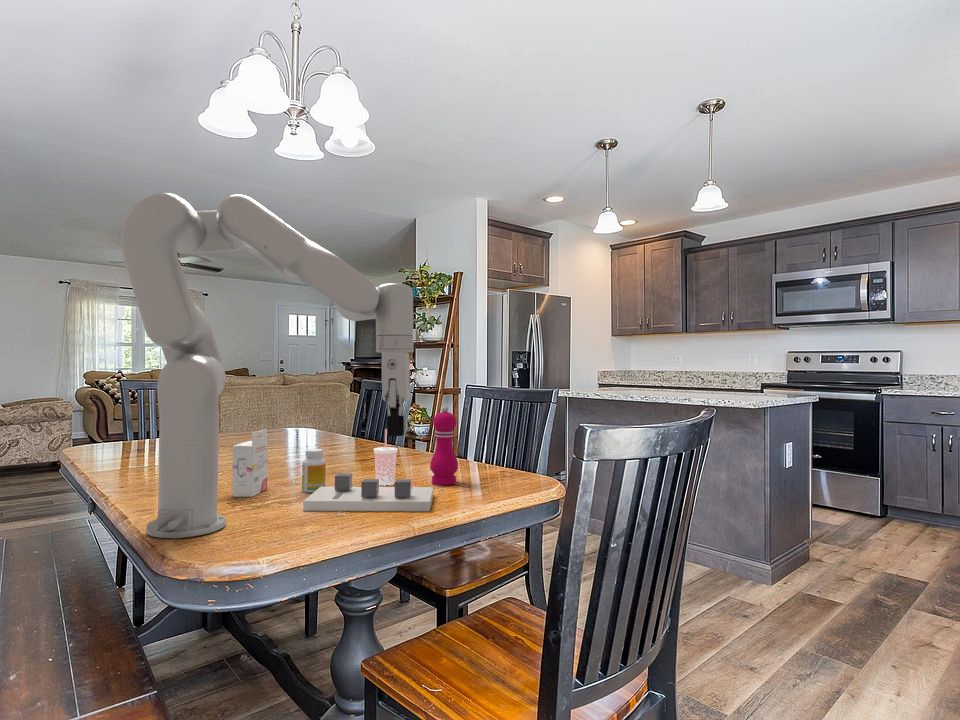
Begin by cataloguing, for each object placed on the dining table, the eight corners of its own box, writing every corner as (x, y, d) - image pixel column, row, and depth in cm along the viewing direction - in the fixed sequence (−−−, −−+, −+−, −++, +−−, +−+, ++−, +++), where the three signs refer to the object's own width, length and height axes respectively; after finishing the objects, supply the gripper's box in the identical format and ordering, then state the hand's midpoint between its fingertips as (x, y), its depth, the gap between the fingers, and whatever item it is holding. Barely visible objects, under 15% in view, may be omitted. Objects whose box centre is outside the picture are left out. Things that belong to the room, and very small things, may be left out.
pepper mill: (462, 482, 143) (463, 405, 144) (449, 487, 137) (451, 407, 137) (438, 479, 146) (439, 404, 147) (424, 484, 140) (425, 406, 140)
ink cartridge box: (247, 488, 133) (248, 427, 133) (267, 489, 132) (268, 428, 133) (230, 497, 124) (231, 431, 124) (252, 497, 124) (253, 432, 124)
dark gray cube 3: (409, 497, 116) (409, 482, 116) (394, 497, 116) (394, 482, 116) (411, 494, 119) (411, 479, 119) (396, 493, 119) (396, 479, 119)
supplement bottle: (329, 489, 133) (330, 449, 133) (313, 493, 128) (314, 452, 128) (313, 487, 135) (314, 447, 135) (296, 491, 130) (297, 450, 131)
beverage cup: (390, 487, 136) (391, 430, 137) (368, 485, 138) (369, 429, 138) (401, 482, 142) (401, 428, 142) (379, 480, 144) (380, 427, 144)
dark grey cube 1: (349, 490, 122) (349, 476, 122) (334, 490, 121) (334, 476, 122) (351, 487, 125) (352, 473, 125) (337, 487, 124) (337, 473, 125)
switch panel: (429, 511, 114) (429, 501, 114) (303, 510, 113) (303, 500, 113) (433, 495, 128) (433, 486, 128) (320, 495, 127) (320, 486, 127)
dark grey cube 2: (376, 497, 116) (376, 481, 116) (361, 497, 116) (361, 481, 116) (378, 493, 119) (378, 479, 119) (363, 493, 119) (364, 478, 119)
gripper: (410, 343, 104) (411, 440, 104) (416, 346, 119) (416, 430, 119) (370, 344, 104) (371, 441, 103) (381, 346, 119) (382, 431, 118)
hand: (395, 435), depth 111 cm, fingers closed
